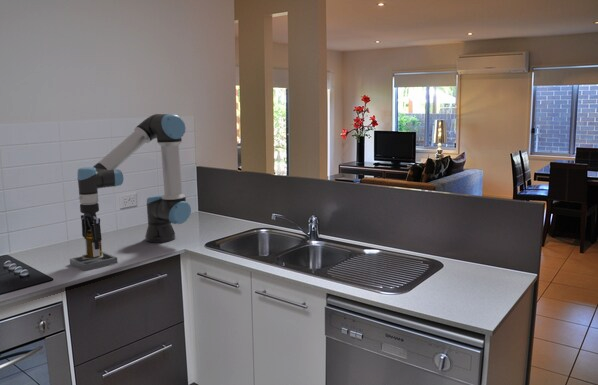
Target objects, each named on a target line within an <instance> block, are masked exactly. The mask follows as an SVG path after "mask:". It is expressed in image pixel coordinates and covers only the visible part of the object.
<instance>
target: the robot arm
mask: <svg viewBox="0 0 598 385" xmlns="http://www.w3.org/2000/svg"><path fill="white" fill-rule="evenodd" d="M186 129H187V128H186V123H185V121H184V120H183V119H182V118H181V117H180V116H179V115H178V114H172V113H163V114H162V113H155V114H152V115H149V116H148V117H147V118H146V119H144V120H143V121H141V122H140V123H139V124H138V125H137V126H135V127H134V129H133V130H134V131H133V132H132V133H131V134H129V135H128V136H127V137H126V138H124V139H123V141H122V142H120V143H119V144H118V145H117V146H115V147H114V148H113V149H112V150H111V151H110V152H108V153H107V154H106V155H105V156H104V157H103V158H102V159H100V160H99V161H98V162H97V163H96V164H94V165H93V166H91V167H90V166H88V167H86V166H85V167H79V168H78V170H77V185H78V200H79V203H80V205H79V211H80V213H81V215H80V220H81V235H82V238H83V239H84V240H85V242H84V243H85V244H84V245H85V252H86V254H87V243H86V236H87V230H89V229H91V233H92V238H93V241H92V246H93V257H96V256H100V248H99V241H101V242H102V230H101V229H102V228H101V218H98V217H97V213H98V212H99V211H100V207H99V206H100V205H99V203H98V202H99V191H98V189H103V188H111V187H115V188H116V187H118V186H119V187H120V186H121V185H123V183H124V174H123V171H122V170H121V169H118V168H119V167H120V166H121V165H122V164H123V163H124V162H125V161H126V160H128V159H129V158H130V157H131V156H132V155H133V154H135V153H136V152H137V151H138V150H139V149H140V148H142V146H143V145H144V144H149V143H150V142H151V141H153V140H155V139H156V141H157V142H156V143H157V144H158V145H159V146H160V151H161V164H162V165H161V166H162V177H163V192H164V194H160V195H152V196H149V197H147V198H146V213H147V228H146V232H145V235H144V237H145V241H146V242H149V243H166V242H171V241H174V240H175V239H176V232H175V230H174V228H173V224H174V225H182V224H184V223H186V222H187V221H188V219H189V218H190V217H191V213H192V207H191V204H189V202H187V200H186V199H187V197H186V195H185V194H184V193H183V186H182V184H183V183H182V172H181V156H180V144H181V143H182V141H183V140H182V137H183V136H184V134H185V133H186Z"/></svg>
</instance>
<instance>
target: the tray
mask: <svg viewBox="0 0 598 385" xmlns="http://www.w3.org/2000/svg"><path fill="white" fill-rule="evenodd" d="M102 253H103V257H101V258H90V259H83V258H82V255H81V256H76V257H72V258H71V257H70V258H69V265H71V266H73V267H75V268H77V269H79V270H82V271H83V272H84V271H85V272H86V271H89V270H93V269H98V268H102V267H105V266H110V265H114V264H118V256H115V255H112V254H109V253H107V252H104V251H102Z"/></svg>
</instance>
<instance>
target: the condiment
mask: <svg viewBox="0 0 598 385" xmlns="http://www.w3.org/2000/svg"><path fill="white" fill-rule="evenodd" d="M92 241H93V238H92V233H91V229H89V230H87V236H86V243H87V254H85V253H84V254H81V256H82V258H83V259H90V258H101V257H103V253H102V252H103V249H102V240H101V241H99V248H100V256H96V257H93V246H92Z"/></svg>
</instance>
